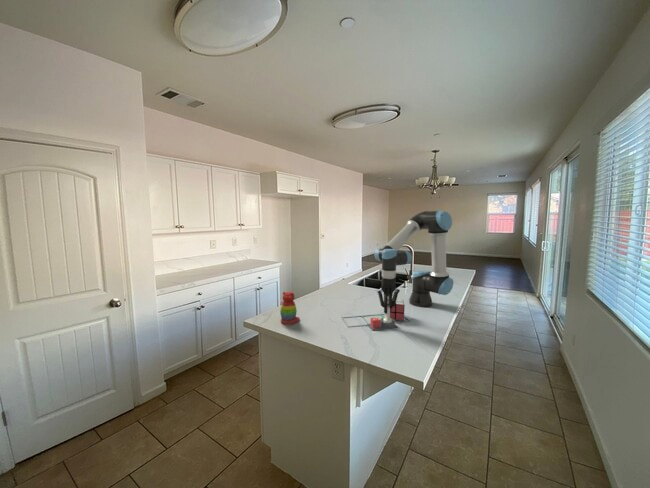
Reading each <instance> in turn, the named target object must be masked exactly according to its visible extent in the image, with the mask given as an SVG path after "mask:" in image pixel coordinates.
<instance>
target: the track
mask: <svg viewBox="0 0 650 488" xmlns="http://www.w3.org/2000/svg"><path fill="white" fill-rule="evenodd" d="M371 316H374V317H375V316H381V317H382V318H385V313H380V314H379V313H377V314H367V315H354V316H353V315H352V316H342V317H341V320H342V321H343V322H344V324H345V325H346V326H347V328H355V327H356V328H357V327H365V326H366V327H367V326H368V325H367V324H370V323H369V321H367V320H366V319H365V318H364V317H371ZM360 317H361V318H362V319H363V320H364V322H366V323H367V324H360V325H351V326H350V325H348V323H347V321H346V320H345V318H360ZM404 319H405V320H404V321H395V324H400V323H410V322H411V320H410V319H408V318H407V317H406V316H404Z"/></svg>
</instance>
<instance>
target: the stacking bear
mask: <svg viewBox="0 0 650 488" xmlns="http://www.w3.org/2000/svg"><path fill="white" fill-rule="evenodd" d="M282 300H283V301H282V302H281V306H280V309H279V310H280V311H279V313H280V323H281V324H282V325H288V326H289V325H294V324H297V323H298V322H300V320H301V318H300V317H299V316H297V312H298V311H297V310H298V309H297V305H296V302H295V301H294V300H295V294H294V292H291V291H286V292H285V291H283V292H282Z"/></svg>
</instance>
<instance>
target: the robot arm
mask: <svg viewBox="0 0 650 488" xmlns="http://www.w3.org/2000/svg"><path fill="white" fill-rule="evenodd" d="M452 225H453V218H452V216H451V214H450V213H449V212H448V211H446V210H444V211H443V210H424V211H421V212H418V213H417V214H414V216H412V217H411V218H409V220H408V221H407V222H406V225H404V226H403V228H402V229H401V230H400V231H399V232H398V233H397V234H395V236H393V238H392V239H390V240H389V241H388V242H387V243H386V244H385V245H384V246H383V248H381V247H380V248H376V250H375V251H374V253H373V255H374V258H375V261H379V262H381V285H380V288H379V289H376V292H377V294H378V299H379V303H380V307H382V308H383V312H384V313H383V314H385V315H384V317H385V318H386V319H387V320H390V313H391V308H393V306H395V304H396V300H397V299H398V295H399V293H400V289H399V288H397V286H396V283H397V282H396V281H397V280H396V277H397V266H405V265H408V264H410V263H411V262H412V260H413V258H412V254H411V252H410V251H407V250H403V251H400V249H401V248H402V247H403V246H404V245H405V244H406V243H407V242H408V241H409V240H410V239H411V238H412V237H413V236H414V235H415V234H416V233H418V232H420V231H422V230H427V234H428V235H430V246H431V247H430V249H431V271H430V270H417V271H413V273H412V286H411V287H412V288H411V289H412V290H411V295H410V296H409V299H408V300H409V301H408V303H409V304H410V305H411V306H415V307H420V308H423V307H424V308H428V307H431V306H432V305H433V300H432V296H431V293H434V294H438V295H443V296H447V295H449V294H450V293H451V291H452V290H453V287H454V280H453V278H451V277H450V273H449V272H448V271H447V244H446V243H447V239H446V235H447V234H448V233H449V230H451V228H452Z"/></svg>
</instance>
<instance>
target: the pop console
mask: <svg viewBox="0 0 650 488" xmlns="http://www.w3.org/2000/svg"><path fill="white" fill-rule="evenodd" d="M383 319H384V318H383V317H382V318H379V317H377V316H376V317H370V321H369V322H370V323H369V324H368V323H367V324H366V325H368V328H369V329H370V330H371V331H381V330H382V331H384V330H394V329H399V326H397V324H396V323H395V322H396V320H394V319H392V318H391V319H392V322H389V323H387V322H383Z"/></svg>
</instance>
